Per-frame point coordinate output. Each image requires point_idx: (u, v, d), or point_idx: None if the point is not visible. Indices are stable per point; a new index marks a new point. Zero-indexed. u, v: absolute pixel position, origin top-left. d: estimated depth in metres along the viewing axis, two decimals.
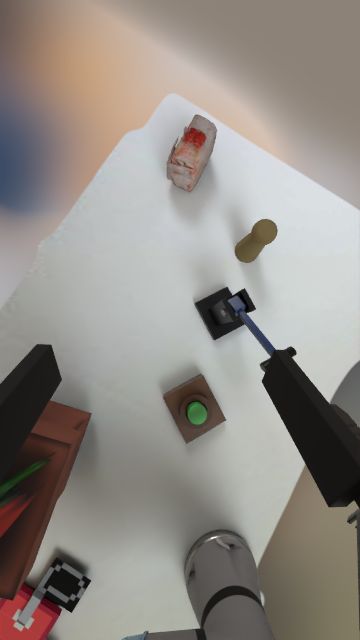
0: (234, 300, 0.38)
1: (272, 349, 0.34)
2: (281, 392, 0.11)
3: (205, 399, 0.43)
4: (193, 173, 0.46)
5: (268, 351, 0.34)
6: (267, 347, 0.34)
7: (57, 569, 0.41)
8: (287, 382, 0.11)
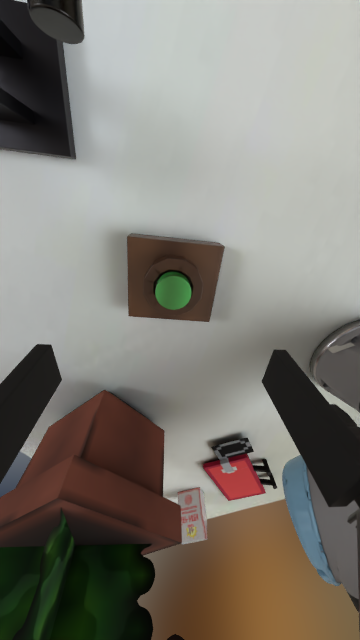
0: None
1: None
2: (281, 393, 0.11)
3: (163, 262, 0.22)
4: None
5: None
6: None
7: (219, 449, 0.47)
8: (287, 382, 0.11)
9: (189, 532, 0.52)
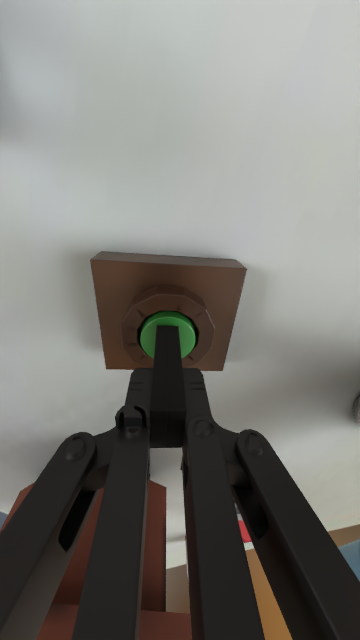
0: None
1: None
2: None
3: (150, 300, 0.13)
4: None
5: None
6: None
7: None
8: None
9: None
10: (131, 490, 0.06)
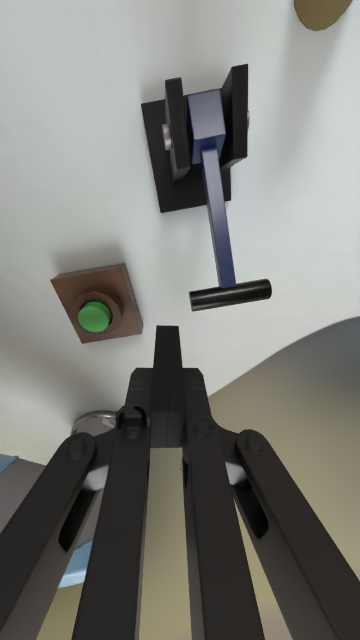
0: (205, 104, 0.13)
1: (228, 272, 0.15)
2: None
3: (113, 303, 0.28)
4: None
5: (218, 273, 0.15)
6: (220, 264, 0.15)
7: None
8: None
9: None
10: (131, 490, 0.06)
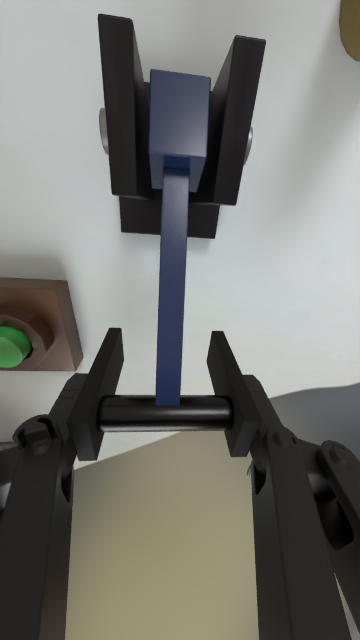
0: (180, 95, 0.07)
1: (170, 382, 0.09)
2: (214, 368, 0.13)
3: (35, 334, 0.20)
4: None
5: None
6: (160, 366, 0.09)
7: None
8: (216, 358, 0.12)
9: None
10: (36, 509, 0.05)
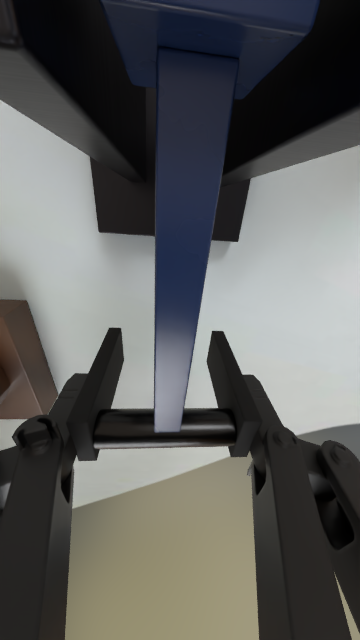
0: None
1: (170, 418, 0.08)
2: (214, 368, 0.13)
3: None
4: None
5: None
6: (158, 408, 0.07)
7: None
8: (217, 358, 0.12)
9: None
10: (36, 509, 0.05)
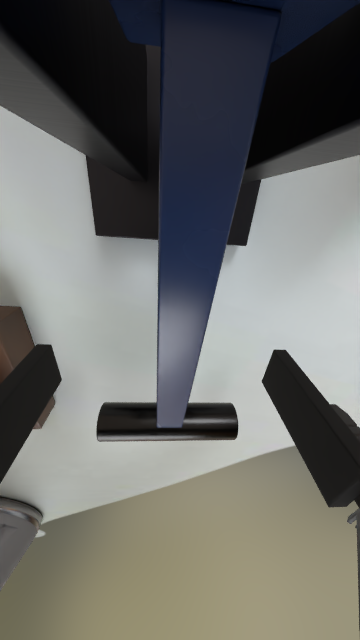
0: None
1: (172, 417, 0.08)
2: (281, 393, 0.11)
3: None
4: None
5: None
6: (161, 408, 0.07)
7: None
8: (287, 382, 0.11)
9: None
10: None
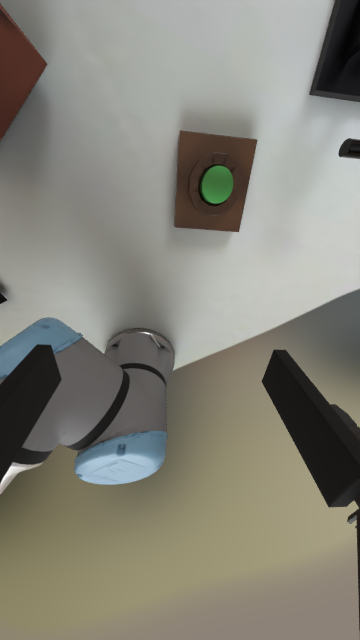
0: None
1: None
2: (281, 392, 0.11)
3: (239, 176, 0.26)
4: None
5: None
6: None
7: None
8: (287, 382, 0.11)
9: None
10: None
